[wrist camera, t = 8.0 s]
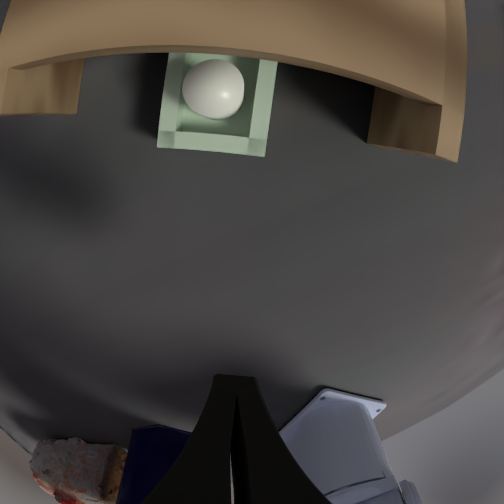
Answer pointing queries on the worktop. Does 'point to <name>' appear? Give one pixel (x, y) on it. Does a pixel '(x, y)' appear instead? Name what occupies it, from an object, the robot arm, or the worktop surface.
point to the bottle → (149, 460)
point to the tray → (218, 134)
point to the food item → (78, 470)
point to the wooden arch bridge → (257, 52)
